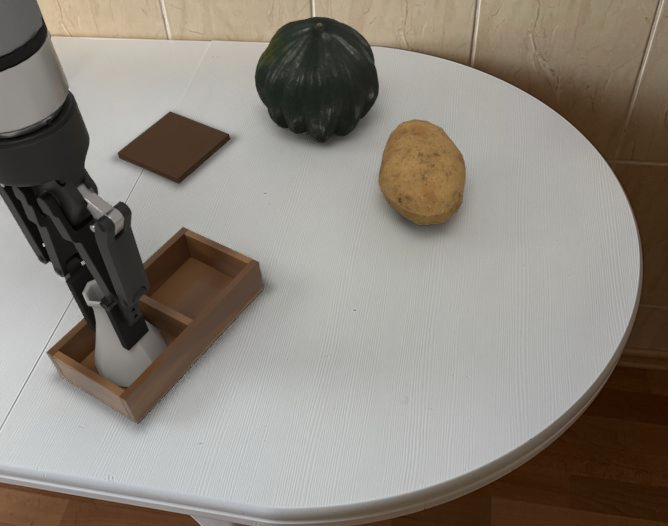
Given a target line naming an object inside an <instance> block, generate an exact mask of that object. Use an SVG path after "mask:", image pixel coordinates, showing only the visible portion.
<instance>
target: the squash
mask: <svg viewBox="0 0 668 526" xmlns="http://www.w3.org/2000/svg"><path fill="white" fill-rule="evenodd" d="M375 62H376V61H375V55H374V52H373V49H372V46H371V44H370V43H369V41H368V39H366V37H365V36H364V35H362V34H361V33H360V32H359V31H358V30H357V29H355V28H354V27H352V26H350V25H348V24H347V23H344V22H341V21H339V20H337V19H335V18H330V17H326V16H311V17H308V18H303V19H297V20H293V21H289V22H287V23H285V24H283V25H282V26H281V27H279V28H278V29H277V30H276V31H275V33H274V34H273V35H272V37H271V38H270V41H269V43H268V44H267V47H266V48H265V49H264V51H262V53H261V55H260V56H259V58H258V61H257V64H256V66H255V73H254V84H255V89H256V92H257V94H258V97H259V99H260V101H261V102H262V104H263V105H264V106H265V108H267V112H268V115H269V117H270V119H271V120H272V122H273V123H274V124H275V125H276V126H278V127H280V128H282V129H289V131H291V132H292V133H294V134H295V135H303V134H306V133H307V134H308V135H309V136H310V137H311V138H312V139H313V140H314V141H316V142H319V143H325V142H327V141H328V140H329V139H331V138H332V136H333V135H335V136H338V137H345V136H348V135H349V134H350V133H352V132H353V131H354V129H355V128H357V126H358V124H359V122H360V121H361V119H363V118H365V117H366V115H368V113H369V112H370V111H371V109H372V108H373V107H374V105H375V103H376V102H377V99H378V97H379V91H380V83H379V82H380V81H379V75H378V71H377V67H376V65H375V64H376V63H375Z"/></svg>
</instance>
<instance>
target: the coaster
mask: <svg viewBox="0 0 668 526" xmlns="http://www.w3.org/2000/svg"><path fill="white" fill-rule="evenodd" d="M230 140H231V135H230V134H229V133H227V132H226V131H222V130H219V129H217V128H214V127H212V126H209V125H207V124H204V123H202V122H199V121H197V120H194V119H191V118H188V117H186V116H184V115H181V114H178V113H176V112H173V111H171V110H170V111H168V112H167V113H166V114H164V115H163V116H162V117H161V118H160V119H158V120H157V121H156V122H154V123H153V124H152V125H150V126H149V127H148V128H147V129H146V130H144V131H143V132H141V133H140V134H139V135H137V137H135V138H134V139H133V140H132V141H130V142H129V143H128V144H127V145H125V146H124V147H123V148H121V149H120V150H119V151H117V156H118V158H119V159H120V160H121V159H122V160H123V161H126V162H128V163H131V164H133V165H135V166H136V167H137V166H138V167H140V168H142V169H144V170H146V171H149V172H151V173H153V174H156V175H158V176H160V177H162V178H165V179H167V180H169V181H172V182H175V183H177V184H181V182H182V181H184V180H185V179H186V178H187V177H188V176H190V175H191V174H192V173H193V172H194V171H195V170H196V169H197V168H199V167H200V166H201V165H202V164H203V163H205V161H207V160H208V159H209V158H210V157H212V155H214V154H215V153H216V152H217V151H218V150H219V149H220V148H222V147H223V146H224V145H225V144H226V143H227V142H229V141H230Z"/></svg>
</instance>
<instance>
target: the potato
mask: <svg viewBox="0 0 668 526" xmlns="http://www.w3.org/2000/svg"><path fill="white" fill-rule="evenodd" d="M381 156H382V157H381V161H380V166H379V167H380V168H379V172H378V179H377V183H378V186H379V188H380V192H381V194H382V195H383V197H384V199H385V200H386V202H387V204H388V205H389V206H390V207H391V208H393V209H394V210H395V211H397V212H398V214H400V215H401V216H402V217H404V218H406V219H407V220H409V221H410V222H412V223H414V224H415V225H417V226H418V225H419V226H421V225H422V226H423V225H424V226H427V225H428V226H431V225H438V224H443V223H445V222H446V221H448V220H449V219H450V218H452V217H453V216H454V215H455V214H457V213H458V211H459V210H460V208H461V205H462V203H463V200H464V193H465V187H466V186H465V185H466V180H467V179H466V177H467V168H466V161H465V159H464V155H463V154H462V152H461V150H460V149H459V148H458V147H457V145H456V144H455V143H454V141H453V140H452V139H451V137H449V135H448V134H447V132H446V131H445V129H444V128H443V127H441V126H439V125H436V124H435V123H432V122H430V121H428V120H424V119H415V118H414V119H409V120H406V121H403V122H401V123H399V124H398V125H397V126H396V127H395V129H394V130H393V131H392V132H391V133H390V134H389V136H388V138H387V141H386V144H385V146H384V148H383V151H382V155H381Z"/></svg>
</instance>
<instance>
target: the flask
mask: <svg viewBox="0 0 668 526" xmlns="http://www.w3.org/2000/svg"><path fill="white" fill-rule="evenodd" d="M82 294H83V296H84V299H85V301H86V303H87V305H88V306H92V308H93V310H94V315H95V319H96V345H95V366H96V368H97V370H98V373H99V375H100V376H102V377H103V378H105V379H107V380H108V381H110V382H112V383H113V384H115V385H117V386H122V387H129V386H130V385H131V384H132V383H133V382H134V381H135V380H136V379H137V378H138V377H139V376H140V375H141V374H142V373H143V372H144V371H145V370H146V369H147V368H148V367H149V366H150V364H151V363H152V362H153V361H154V360H155V359H156V358H157V357H158V356H159V355H160V354H161V353H162V352H163V351H164V350H165V349H166V348H167V345H166V343H165V341H164V339H163V337H162V335H161V333H160V331H159V330H158V329H157V328H155V327H154V326H153V325H151V324H150V323H149V322H147V321H146V320H145V322H146V324H147V327H148V329H149V331H148V332H147V333H146V334H145V335H144V336H143V337H142V338H141V339H140V340H139V341H138V342H137V343H136V344H135V345H134V346H133V347H132V348H131V349H130V350H129V351H128V350H127V349H125V348H123V347H122V345H121V343H120V340H119V338H118V336H117V334H116V332H115V330H114V328H113V326H112V324H111V322H110V319H109V317H108V315H107V313H106V311H105V309H104V308H102V307H101V305H100V304H99V303H100V302H101V301H100V300H101V299H102V298H103V297H104V294H103V292H102V291H101V289H100V287H99V286H98V284H97V282H96V281H95V279H94V280H92V281H89V282H87V284H86V286H85V288H84V291H83V293H82Z"/></svg>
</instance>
